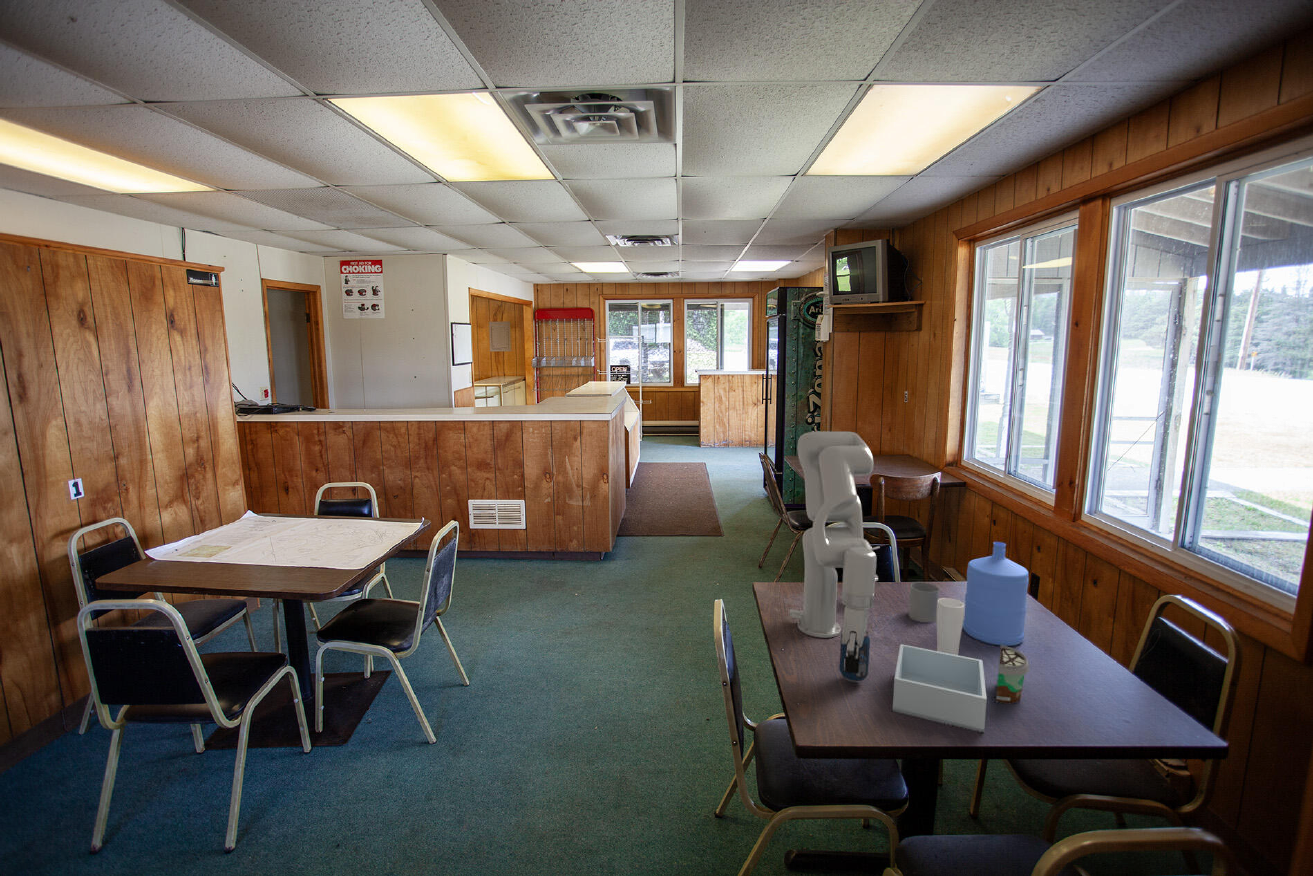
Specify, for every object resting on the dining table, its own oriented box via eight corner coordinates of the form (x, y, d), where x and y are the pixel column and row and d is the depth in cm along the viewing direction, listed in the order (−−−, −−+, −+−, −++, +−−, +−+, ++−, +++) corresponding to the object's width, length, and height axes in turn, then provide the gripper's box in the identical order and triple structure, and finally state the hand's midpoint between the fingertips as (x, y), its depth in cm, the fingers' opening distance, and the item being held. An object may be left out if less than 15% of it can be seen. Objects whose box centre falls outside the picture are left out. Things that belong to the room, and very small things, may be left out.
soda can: (847, 665, 154) (849, 622, 152) (872, 675, 149) (875, 631, 147) (833, 675, 149) (836, 631, 147) (859, 686, 144) (862, 641, 142)
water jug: (1012, 653, 164) (1020, 556, 160) (954, 633, 175) (960, 542, 172) (1031, 635, 174) (1039, 544, 170) (974, 618, 185) (981, 532, 182)
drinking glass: (964, 661, 159) (968, 608, 157) (937, 659, 160) (940, 606, 158) (956, 649, 166) (960, 598, 164) (931, 647, 167) (934, 596, 165)
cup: (939, 615, 188) (941, 585, 186) (935, 625, 181) (937, 594, 179) (911, 609, 192) (912, 580, 191) (906, 618, 185) (908, 588, 184)
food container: (1026, 713, 136) (1029, 672, 134) (995, 704, 139) (998, 665, 138) (1026, 688, 146) (1029, 650, 145) (997, 681, 149) (1000, 643, 148)
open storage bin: (892, 711, 136) (894, 678, 135) (898, 673, 153) (900, 644, 152) (983, 733, 128) (986, 699, 127) (980, 690, 145) (982, 660, 144)
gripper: (847, 582, 155) (844, 645, 158) (836, 608, 139) (832, 677, 142) (877, 587, 152) (873, 651, 154) (869, 614, 136) (865, 685, 139)
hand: (854, 663), depth 148 cm, fingers closed on soda can, 7 cm apart
